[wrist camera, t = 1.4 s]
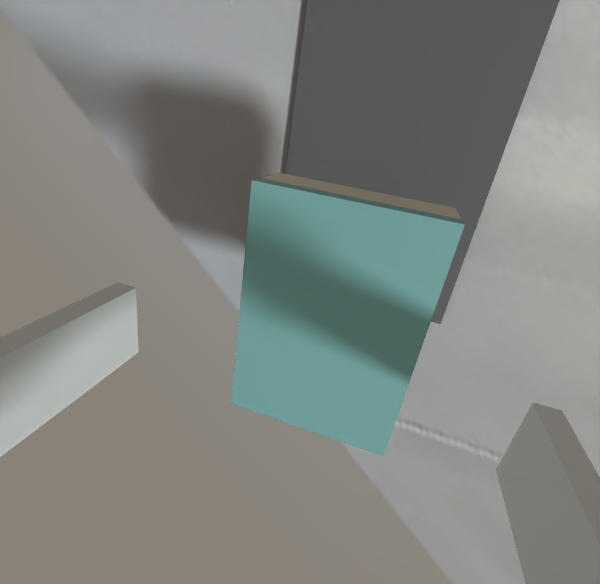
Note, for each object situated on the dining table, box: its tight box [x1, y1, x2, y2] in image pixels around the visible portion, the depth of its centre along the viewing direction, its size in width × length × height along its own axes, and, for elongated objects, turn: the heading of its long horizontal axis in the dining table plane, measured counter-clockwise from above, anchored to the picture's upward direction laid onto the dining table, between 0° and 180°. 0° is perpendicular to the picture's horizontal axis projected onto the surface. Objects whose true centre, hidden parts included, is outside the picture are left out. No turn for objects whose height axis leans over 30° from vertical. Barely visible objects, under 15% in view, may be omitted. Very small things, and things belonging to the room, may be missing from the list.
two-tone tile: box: [231, 173, 465, 456], centre depth 15 cm, size 10×7×3 cm
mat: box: [285, 0, 559, 324], centre depth 22 cm, size 24×13×1 cm, turn 171°
